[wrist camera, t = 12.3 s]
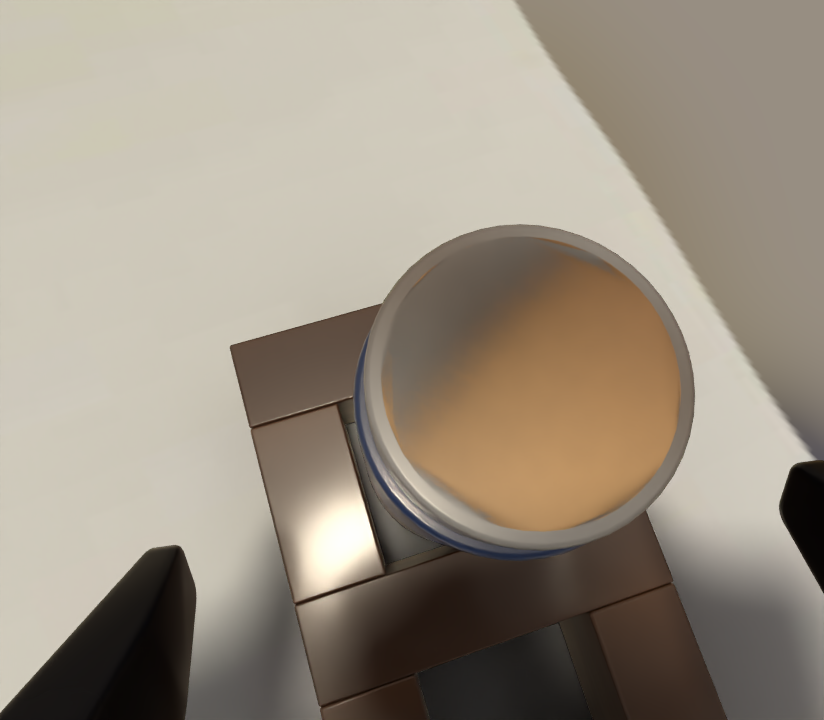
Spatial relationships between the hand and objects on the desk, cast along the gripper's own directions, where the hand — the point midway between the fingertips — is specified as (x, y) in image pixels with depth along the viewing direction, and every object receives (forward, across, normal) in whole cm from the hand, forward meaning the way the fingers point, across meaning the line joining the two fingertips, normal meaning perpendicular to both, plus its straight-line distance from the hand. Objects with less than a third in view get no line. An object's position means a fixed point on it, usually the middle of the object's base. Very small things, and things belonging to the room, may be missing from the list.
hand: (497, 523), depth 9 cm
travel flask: (+8, 0, +6) cm, 9 cm away
